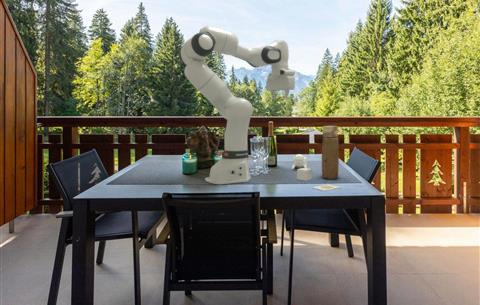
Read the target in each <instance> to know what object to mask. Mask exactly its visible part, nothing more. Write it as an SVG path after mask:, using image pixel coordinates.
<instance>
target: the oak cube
mask: <svg viewBox="0 0 480 305" xmlns="http://www.w3.org/2000/svg"><path fill="white" fill-rule="evenodd" d="M338 134H339V126H338V125H324V126H322V137H323V138H324V137H337V138H338V137H339V135H338Z"/></svg>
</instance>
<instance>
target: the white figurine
mask: <svg viewBox="0 0 480 305" xmlns="http://www.w3.org/2000/svg"><path fill="white" fill-rule="evenodd" d="M307 165H308V158H307V156H304V155H303V154H300V153H299V154H298V153H297V154H295V155H294V156H293V164H292V166H291V169H290V170H294V169H295V168H298V169H301V168H307V169H308V167H307Z"/></svg>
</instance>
